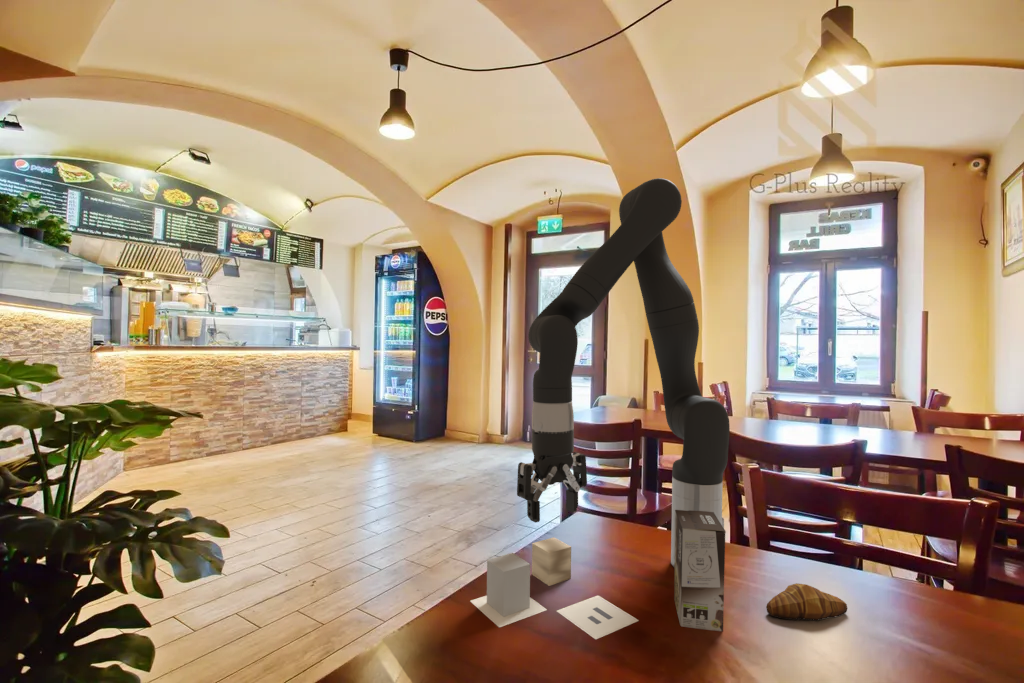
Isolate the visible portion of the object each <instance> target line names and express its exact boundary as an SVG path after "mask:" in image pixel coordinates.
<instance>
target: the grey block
mask: <svg viewBox="0 0 1024 683" xmlns="http://www.w3.org/2000/svg"><path fill="white" fill-rule="evenodd" d="M486 595H487V603H488V604H489V605H490V606H491V607H492V608H493V609H495V610H496V611H497V612H498V613H499V614H500V615H502V616H503V617H505V616H508V615H511V614H513V613H516V612H519V611H522V610H525V609H527V608H530V596H531V563H530V562H528V561H526V560H525V559H523V558H522V557H520V556H519V555H517V554H516V553H514V552H511V553H507V554H504V555H499V556H495V557H493V558H488V559H487V560H486Z"/></svg>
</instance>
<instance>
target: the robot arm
mask: <svg viewBox="0 0 1024 683" xmlns="http://www.w3.org/2000/svg"><path fill="white" fill-rule="evenodd" d="M681 208H682V195H681V192H680V189H679V188H678V186H677V185H676V184H675V183H673V182H672V180H669V179H666V178H663V177H662V178H660V177H659V178H652V179H650V180H647V181H644V182H643V183H641V184H640V185H638V186H636V187H635V188H633V189H631V190H630V191H628V192H627V193H626V194H625V195H624V196H623V198H622V199H621V201H620V203H619V208H618V213H619V214H618V216H619V221H620V225H619V226H618V227H617V229H616V230H615V231H614V232H613V233H612V235H610V237H609V238H608V239H607V240H606V241H605V242H604V243H602V245H601V246H599V248H597V250H596V251H594V252H593V253H592V255H590V256H589V257H588V258H587V259H586V260H585V262H584V263H583V264H582V265H581V266H580V267H579V269H578V270H577V271H576V272H575V273H574V275H573V276H572V278H571V279H570V280H569V281H568V282H567V284H566V285H565V286H564V287H563V289H562V291H561V292H560V294H558V295H557V297H555V298H554V299H553V300H552V301H551V302H550V303H549V304H548V305H546V307H545V308H544V309H543V310H542V311H541V312H540V313H539V314H538V315H537V316H536V317H535V319H534V321H532V323H531V324H530V327H529V330H528V336H527V337H528V342H529V344H530V346H531V348H532V349H533V350H534V351H536V352H537V353H539V361H538V362H539V363H538V369H537V370H536V371H535V372H534V374H533V379H532V410H531V450H532V454H533V460H532V462H528V463H525V462H521V461H520V462H519V463H518V464H517V465H518V466H517V485H516V495H517V497H519V498H522V499H524V500H526V505H527V506H526V507H527V508H526V510H527V512H526V515H527V517H528V518H529V520H530V521H531V522H532V523H538V522H539V523H540V520H541V519H540V518H541V515H540V514H541V512H540V511H541V510H540V509H541V507H540V506H541V503H540V502H541V501H540V500H539V499H540V497H541V496H542V494H543V492H545V491H546V490H547V489H548V487H549V486H552V485H555V484H556V483H558V484H561V483H563V484H564V486H565V487H566V490H565V505H566V506H565V509H566V510H567V511H568V512H571V513H576V512H577V511H578V507H579V492H580V490H581V488H582V487H584V488H585V487H586V486H587V485H588V477H587V456H586V455H585V454H583V453H582V454H581V453H579V452H574V450H575V448H574V447H575V441H574V440H575V428H574V426H575V422H574V419H575V416H574V407H573V381H572V377H573V373H574V368H575V364H576V358H577V353H578V352H577V351H578V342H579V340H578V332H577V329H576V326H577V325H579V323H581V321H583V320H585V319H587V318H589V317H590V316H592V314H594V313H595V312H596V310H597V309H598V307H599V306H600V305H601V304H602V302H604V300H605V298H606V297H607V296H608V294H609V293H610V292H611V290H612V289H613V287H614V286H615V285H616V284H617V282H618V281H619V280H620V278H621V277H622V276H623V275H624V274H625V272H626V271H627V269H628V268H629V267H630V266H631V265H632V264H633V263H634V267H635V271H636V276H637V280H638V285H639V289H640V293H641V298H642V301H643V306H644V312H645V317H646V321H647V326H648V329H649V332H650V336H651V337H650V338H651V339H652V340H651V341H652V345H653V349H654V354H655V358H656V363H657V366H658V369H659V370H658V371H659V376H660V382H661V387H662V396H663V403H664V412H665V413H664V414H665V418H666V422H667V426H668V428H669V430H670V431H671V432H672V434H674V435H675V436H676V437H677V438H679V439H681V440H683V442H682V455H681V458H679V459H677V460H675V461H674V462H673V463H672V466H671V467H672V468H671V471H672V473H671V476H672V478H671V481H672V482H671V491H672V492H671V531H670V532H671V533H670V534H671V535H670V537H671V539H670V540H671V541H670V564H671V566H672V567H673V568H674V559H675V510H684V511H689V510H690V511H708V512H714V514H715V515H716V517H717V518H718V520H719V522H720V523H721V525H722V526H723V528H724V529H725V519H724V517H723V479H724V478H723V476H724V472H725V470H726V468H727V465H728V462H729V461H728V460H729V458H728V457H729V448H730V447H729V446H730V429H731V428H730V418H729V417H730V416H729V414H728V412H727V409H726V408H725V406H724V405H723V404H722V403H721V402H720V401H717V399H716V400H715V399H712V398H710V397H704V396H703V395H702V392H701V390H700V386H699V384H698V379H697V374H696V365H695V364H696V363H695V361H696V359H695V358H696V354H697V349H698V344H699V343H698V342H699V334H700V326H699V325H700V324H699V318H698V314H697V310H696V305H695V301H694V296H693V295H692V294H693V293H692V292H691V289H690V288H689V286H688V284H687V283H686V282H685V280H684V278H683V277H682V275H681V274H680V272H679V271H678V270H677V268H676V267H675V266H674V264H673V263H672V261H671V259H670V257H669V255H668V252H667V248H666V245H665V240H664V236H663V235H664V234H663V231H664V230H666V228H668V227H669V226H670V225H671V224H672V223H673V222H674V221H675V220H676V219H677V217H678V216H679V214H680V212H681ZM571 468H572V471H571ZM539 481H540V482H539Z"/></svg>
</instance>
